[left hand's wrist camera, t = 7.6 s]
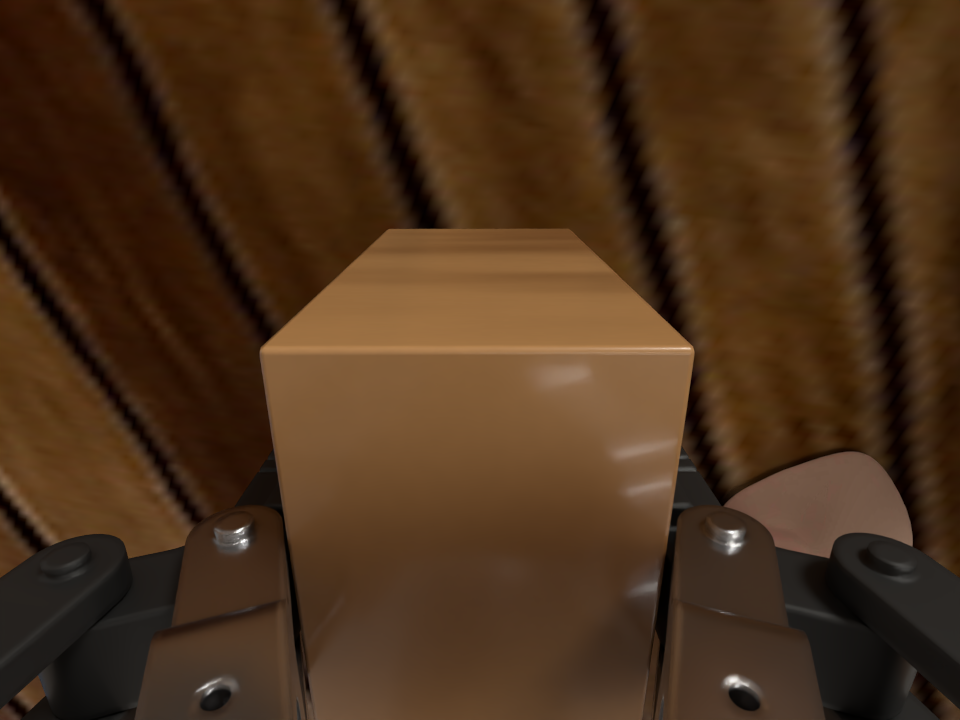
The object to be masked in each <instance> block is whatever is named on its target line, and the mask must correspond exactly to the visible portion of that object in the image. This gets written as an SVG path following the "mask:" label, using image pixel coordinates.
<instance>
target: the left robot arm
mask: <svg viewBox="0 0 960 720" xmlns="http://www.w3.org/2000/svg"><path fill="white" fill-rule="evenodd" d="M655 629H656V632H657V635H658V637H659V647H658V654H657V665H656V676H655V686H654V697H653V708H652V719H651V720H939V719H938V718H937V717H936V716H935V715H934V714H933V713H932V712H931V711H930V710H929V709H928V708H927V707H926V706H925V705H924V704H922V703H921V702H920V701H919V700H918V699H917V698H916V697H915V696H914V695H913V694H912V693H911V692H910V688H911V685H912V683H913V680H914V677H915V675H916V672H917V671H918V672H919V673H920V674H921V675H923V676H924V677H925V678H926V679H927V680H928V681H929V682H930V683H931V684H933V685H934V686H935V687H936V688H937V689H938V690H939V691H940V692H941V693H942V694H944V695H945V696H946V697H947V698H948V699H949V700H950V701H951V702H952V703H953V704H955V705H956V706H957V707H958V708H959V709H960V578H959V577H957V576H956V575H955V574H953V573H952V572H950V571H949V570H947V569H946V568H945V567H943V566H942V565H940V564H939V563H937V562H936V561H934V560H933V559H932V558H930V557H929V556H927V555H926V554H924V553H922V552H921V551H919V550H917V549H915V548H914V547H912V546H910V545H907V544H905V543H903V542H900V541H898V540H895V539H892V538H889V537H885V536H882V535H877V534H871V533H848V534H844V535H842V536H840V537H838V538H837V539H836V540H835V541H834V543H833V546H832V550H831V554H830V557H829V558H826V557H821V556H816V555H811V554H807V553H802V552H797V551H792V550H787V549H783V548H779V547H776V546H775V543H774V540H773V537H772V535H771V533H770V532H769V531H768V529H767V528H766V527H765V526H764V525H763V524H761V523H760V522H759V521H757V520H756V519H754V518H753V517H751V516H749V515H747V514H745V513H743V512H740V511H738V510H735V509H732V508H728V507H724V506H721V505H720V503H719V502H718V500H717V499H716V497H715V496H714V494H713V493H712V491H711V490H710V488H709V487H708V485H707V484H706V482H705V481H704V479H703V478H702V476H701V475H700V473H699V472H698V471H696V467H695V466H694V464H693V463H692V461H691V460H690V459H688V455H687V454H686V452H685V451H684V449H683V448H682V446H681V451H680V458H679V465H678V472H677V479H676V486H675V493H674V500H673V507H672V514H671V521H670V528H669V535H668V542H667V549H666V556H665V563H664V570H663V577H662V584H661V591H660V598H659V605H658V612H657V619H656V626H655ZM300 630H301V626H300V620H299V613H298V606H297V600H296V593H295V586H294V580H293V573H292V566H291V560H290V553H289V546H288V540H287V533H286V527H285V520H284V513H283V507H282V500H281V493H280V487H279V480H278V473H277V467H276V460H275V453H274V449H273V450H272V452H271V453H270V455H269V456H268V460H266V461H265V462H264V464H263V465H262V467H261V468H260V472H258V473H257V474H256V476H255V477H254V479H253V480H252V482H251V483H250V485H249V486H248V487H247V489H246V490H245V492H244V493H243V495H242V496H241V498H240V499H239V501H238V502H237V504H236V505H235V507H232V508H228V509H225V510H222V511H220V512H217V513H215V514H213V515H211V516H209V517H207V518H206V519H204V520H203V521H201V522H200V523H199V524H197V525H196V526H195V527H194V528H193V529H192V531H191V532H190V533H189V535H188V537H187V540H186V543H185V546H182V547H179V548H176V549H172V550H168V551H163V552H158V553H153V554H149V555H144V556H139V557H134V558H129V559H128V556H127V552H126V548H125V545H124V543H123V542H122V541H121V540H120V539H119V538H117V537H115V536H112V535H106V534H92V535H84V536H79V537H75V538H71V539H68V540H64V541H62V542H59V543H56V544H54V545H52V546H49V547H47V548H45V549H43V550H42V551H40V552H38V553H36V554H35V555H33V556H31V557H30V558H28V559H27V560H26V561H24V562H23V563H21V564H20V565H18V566H17V567H15V568H14V569H13V570H11V571H10V572H8V573H7V574H5V575H4V576H3V577H1V578H0V709H1V708H2V707H3V706H4V705H5V704H7V703H8V702H9V701H10V700H11V699H12V698H13V697H14V696H15V695H16V694H18V693H19V692H20V691H21V690H22V689H23V688H24V687H25V686H26V685H27V684H29V683H30V682H31V681H32V680H33V679H34V678H35V677H36V676H37V675H38V676H39V678H40V681H41V683H42V686H43V689H44V691H45V694H46V696H45V697H44V698H43V699H42V700H41V701H40V702H39V703H38V704H36V705H35V706H34V707H33V708H32V709H31V710H30V711H29V712H28V713H27V714H26V715H25V716H24V717H23V718H22V719H21V720H309V719H308V708H307V697H306V686H305V676H304V665H303V654H302V647H301V640H300V634H299V632H300Z"/></svg>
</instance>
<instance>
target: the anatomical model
mask: <svg viewBox="0 0 960 720" xmlns="http://www.w3.org/2000/svg"><path fill="white" fill-rule="evenodd" d="M724 507H728V508H732V509H735V510H738V511H740V512H743V513H745V514H747V515H749V516H751V517H753V518H754V519H756V520H757V521H759V522H760V523H761V524H763V525H764V526H765V527H766V528H767V529H768V531H769V532H770V533H771V535H772V537H773V540H774V543H775V546H776V547H779V548H783V549H787V550H792V551H797V552H802V553H807V554H811V555H816V556H821V557H826V558H829V557H830V554H831V550H832V546H833V543H834V541H835V540H836V539H837V538H838V537H840V536H842V535H844V534H848V533H871V534H877V535H882V536H885V537H889V538H892V539H895V540H898V541H900V542H903V543H905V544H907V545H910V546H912V544H913V536H912V530H911V523H910V520H909V516H908V513H907V510H906V507H905V505H904V503H903V501H902V499H901V496H900V494H899V492H898V490H897V489H896V487H895V485H894V483H893V481H892V480H891V478H890V477H889V475H888V474H887V473H886V471H885V470H884V468H883V467H882V466H881V465H880V464H879V463H878V462H877V461H876V460H874V459H873V458H872V457H870V456H868V455H866V454H864V453H860V452H841V453H836V454H832V455H828V456H824V457H820V458H817V459H814V460H811V461H808V462H805V463H802V464H800V465H797V466H794V467H791V468H788V469H785V470H782V471H780V472H778V473H775V474H773V475H771V476H769V477H767V478H765V479H763V480H761V481H759V482H757V483H755V484H753V485H751V486H749V487H747V488H745V489H743V490H742V491H740V492H738V493H737V494H735V495H734V496H733V497H732V498H731V499H729V500H728V501H727V503H726V504H725V505H724Z"/></svg>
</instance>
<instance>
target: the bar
mask: <svg viewBox="0 0 960 720" xmlns="http://www.w3.org/2000/svg"><path fill="white" fill-rule="evenodd" d="M694 353H695V352H694V348H693V346H692V345H691V344H690V343H689V342H687V341H686V340H685V339H684V338H683V337H682V336H681V335H680V334H679V333H678V332H677V331H676V330H675V329H674V328H673V327H672V326H671V325H670V324H669V323H668V322H666V321H665V320H664V319H663V318H662V317H661V316H660V315H659V314H658V313H657V312H656V311H655V310H654V309H653V308H652V307H651V306H650V305H649V304H648V303H647V302H645V301H644V300H643V299H642V298H641V297H640V296H639V295H638V294H637V293H636V292H635V291H634V290H633V289H632V288H631V287H630V286H629V285H628V284H627V283H626V282H624V281H623V280H622V279H621V278H620V277H619V276H618V275H617V274H616V273H615V272H614V271H613V270H612V269H611V268H610V267H609V266H608V265H607V264H606V263H605V262H603V261H602V260H601V259H600V258H599V257H598V256H597V255H596V254H595V253H594V252H593V251H592V250H591V249H590V248H589V247H588V246H587V245H586V244H585V243H584V242H582V241H581V240H580V239H579V238H578V237H577V236H576V235H575V234H574V233H573V232H572V231H571V230H569V229H389V230H387V231H386V232H384V233H383V234H382V235H381V236H380V237H379V238H378V239H377V240H376V241H375V242H374V243H373V244H372V245H370V246H369V247H368V248H367V249H366V250H365V251H364V252H363V253H362V254H361V255H360V256H359V257H358V258H357V259H355V260H354V261H353V262H352V263H351V264H350V265H349V266H348V267H347V268H346V269H345V270H344V271H343V272H341V273H340V274H339V275H338V276H337V277H336V278H335V279H334V280H333V281H332V282H331V283H330V284H329V285H328V286H326V287H325V288H324V289H323V290H322V291H321V292H320V293H319V294H318V295H317V296H316V297H315V298H314V299H312V300H311V301H310V302H309V303H308V304H307V305H306V306H305V307H304V308H303V309H302V310H301V311H300V312H299V313H297V314H296V315H295V316H294V317H293V318H292V319H291V320H290V321H289V322H288V323H287V324H286V325H285V326H283V327H282V328H281V329H280V330H279V331H278V332H277V333H276V334H275V335H274V336H273V337H272V338H271V339H270V340H268V341H267V342H266V343H265V344H264V345H263V346H262V347H261V349H260V352H259V354H260V360H261V367H262V374H263V380H264V387H265V394H266V400H267V407H268V414H269V420H270V427H271V433H272V440H273V447H274V453H275V460H276V467H277V473H278V480H279V487H280V493H281V500H282V507H283V513H284V520H285V527H286V533H287V540H288V546H289V553H290V560H291V566H292V573H293V580H294V586H295V593H296V600H297V606H298V613H299V620H300V626H301V633H302V640H303V646H304V653H305V659H306V666H307V673H308V679H309V686H310V693H311V699H312V706H313V713H314V719H315V720H642V717H643V710H644V703H645V696H646V689H647V682H648V675H649V668H650V661H651V654H652V647H653V640H654V633H655V626H656V619H657V612H658V605H659V598H660V591H661V584H662V577H663V570H664V563H665V556H666V549H667V542H668V535H669V528H670V521H671V514H672V507H673V500H674V493H675V486H676V479H677V472H678V465H679V458H680V451H681V444H682V437H683V430H684V423H685V416H686V409H687V402H688V395H689V388H690V381H691V374H692V367H693V360H694Z"/></svg>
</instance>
